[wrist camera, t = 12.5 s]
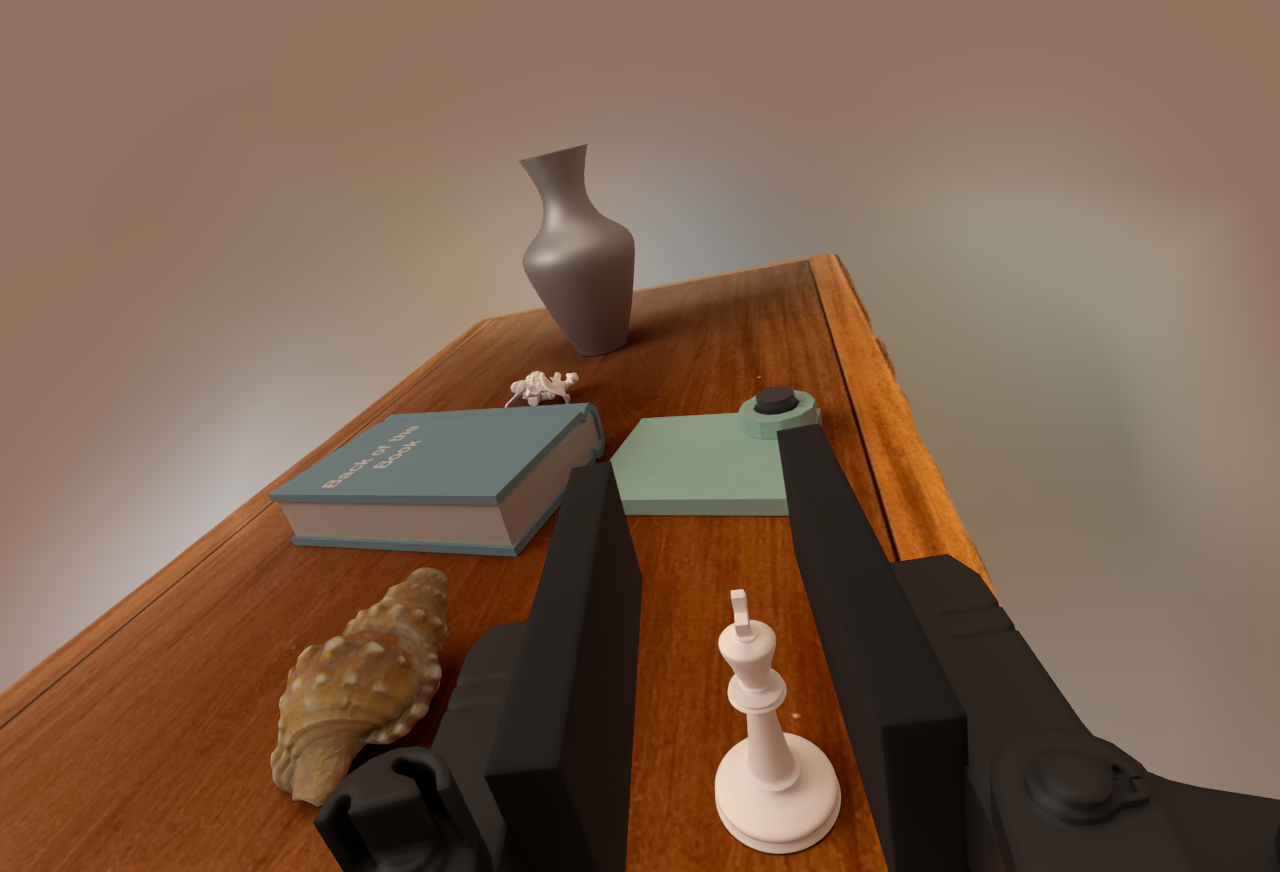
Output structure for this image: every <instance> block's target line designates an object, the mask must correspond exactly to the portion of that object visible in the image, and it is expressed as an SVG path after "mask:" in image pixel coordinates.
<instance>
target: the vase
mask: <svg viewBox="0 0 1280 872" xmlns="http://www.w3.org/2000/svg"><path fill="white" fill-rule="evenodd" d="M586 149H587V144H586V145H582V146H578V147H573V148H568V149H564V150H559V151H553V152H550V153H547V154H543V155H539V156H536V157H532V158H528V159H525V160H521V161H519V162H520V163H521V164H522V166H523V167H524V168H525V170H526V171H527V173H528V174H529V176H530V177H531V179H532V181H533V182H534V184H535V185H536V187H537V189H538V191H539V193H540V195H541V199H542V202H543V212H544V213H543V221H542V225H541V228H540V230H539V233H538V234H537V235H536V237H535V238H534V240H533V241H532V242H531V244H530V246H529V247H528V248H527V250H526V252H525V254H524V258H523V267H524V270H525V272H526V274H527V276H528V278H529V280H530V282H531V283H532V285H533V287H534V289H535V290H536V292H537V293H538V295H539V297H540V298H541V300H542V301H543V303H544V305H545V306H546V308H547V309H548V311H549V313H550V314H551V316H552V317H553V319H554V320H555V322H556V323H557V325H558V326H559V327H560V329H561V330H562V332H563V333H564V334H565V336H566V337H567V338H568V340H569V341H570V342H571V343H572V345H573V346H574V347H575V348H576V350H577V351H578V353H579V354H581V355H582V356H596V355H600V354H604V353H609V352H612V351H614V350H616V349H618V348H621V347H623V345H624V344H625V343H626V342H627V332H628V327H629V321H630V314H631V306H632V294H633V276H634V260H635V259H634V258H635V248H634V240H633V236H632V234H631V233H630V232H629V231H628V229H626V228H625V227H624V226H622V225H620V224H618V223H616V222H614V221H612V220H610V219H608V218H606V217H604V216H603V215H602V214H600V213H599V212H598V211H597V210H596V208H595V207H594V206H593V205H592V203H591V202H590V200H589V198H588V196H587V194H586V190H585V184H584V166H585V156H586Z"/></svg>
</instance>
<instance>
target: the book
mask: <svg viewBox="0 0 1280 872" xmlns="http://www.w3.org/2000/svg"><path fill="white" fill-rule="evenodd" d="M604 447H605V437H604V433H603V429H602V425H601V422H600V418H599V414H598V410H597V407H595V406H594V405H592V404H591V403H577V404H561V405H544V406H527V407H511V408H494V409H478V410H461V411H445V412H428V413H412V414H395V415H390V416H388V417H387V418H385V421H384V422H380V423H378V424H376V425H375V426H373V427H371V428H370V429H368V430H367V431H365V432H364V433H362V434H361V435H359V436H358V437H356V438H354V439H353V440H351V441H350V442H348V443H347V444H345V445H344V446H342V447H341V448H339V449H338V450H336V451H334V452H333V453H331V454H330V455H328V456H327V457H325V458H324V459H322V460H321V461H319V462H318V463H316V464H314V465H313V466H311V467H310V468H308V469H307V470H305V471H304V472H302V473H301V474H299V475H298V476H296V477H294V478H293V479H291V480H290V481H288V482H287V483H285V484H284V485H282V486H281V487H279V488H278V489H276V490H274V491H273V492H271V493H270V494H268V495H269V497H270V499H271V501H272V502H279V503H280V505H281V507H282V509H283V511H284V513H285V515H286V517H287V519H288V521H289V523H290V525H291V527H292V529H293V531H294V533H295V535H294V536H293V537H292V538H291V540H292V542H293V544H294V545H302V546H321V547H340V548H359V549H378V550H398V551H417V552H436V553H455V554H474V555H494V556H513V557H517V556H518V554H519V553H520V552H521V551H522V550H523V549H524V547H525V546H526V545H527V544H528V543H529V541H530V540H531V539H532V538H533V537H534V536H535V534H536V533H537V532H538V531H539V530H540V528H541V527H542V526H543V525H544V524H545V523H546V521H547V520H548V519H549V518H550V517H551V515H552V514H553V513H554V512H555V511H556V510H557V508H558V507H559V506H560V505H561V504H562V500H563V497H564V493H565V490H566V486H567V483H568V479H569V476H570V472H571V469H572V468H575V467H581V466H586V465H592V464H595V462H596V459H600V458H601V456H602V455H603V454H604Z"/></svg>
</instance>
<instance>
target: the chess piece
mask: <svg viewBox="0 0 1280 872" xmlns="http://www.w3.org/2000/svg"><path fill="white" fill-rule="evenodd" d="M731 600H732V605H733V610H734V619H735V623H733V624H731V625H729V626H728V627H727V628H726V629H725V630H724V631H723V632H722V633H721V635H720V637H719V649H720V652H721V654H722V655H723V657H724V658H725V660H726V661H727V662H728V663H729V664H730V666H731V667H732V669H733V671H734V673H735V675H734V676H733V677H732V678H731V680H730V682H729V687H728V698H729V701H730V703H731V704H732V705H733V706H734V707H735V708H736V709H737V710H739V711H741V712H743V713H746V714H747V725H748V738H746V739H744V740H742V741H741V742H739V743H738V744H736V745H735V746H734V747H733V748H732V749H731V750H730V751H729V752H728V753H727V754H726V755H725V757H724V758H723V760H722V761H721V763H720V765H719V768H718V771H717V774H716V779H715V800H716V806H717V810H718V813H719V816H720V818H721V820H722V822H723V824H724V825H725V827H726V828H727V829H728V831H729V832H730V833H731V834H732V835H733V836H734V837H735V838H736V839H738V840H739V841H740V842H742V843H743V844H745V845H747V846H749V847H751V848H753V849H756V850H759V851H762V852H767V853H774V854H785V853H792V852H797V851H800V850H803V849H806V848H808V847H810V846H812V845H814V844H815V843H817V842H818V841H820V840H821V839H822V838H823V837H824V836H825V835H826V834H827V833H828V832H829V831H830V829H831V828H832V827H833V825H834V823H835V821H836V819H837V817H838V814H839V811H840V805H841V791H840V785H839V782H838V779H837V777H836V774H835V771H834V768H833V766H832V764H831V762H830V761H829V759H828V758H827V756H826V755H825V754H824V753H823V752H822V751H821V750H820V749H819V748H818V747H817V746H816V745H814V744H813V743H811V742H810V741H808V740H806V739H804V738H802V737H799V736H797V735H793V734H789V733H784V732H782V729H781V726H780V723H779V721H778V718H777V715H776V711H775V709H776V708H778V707H779V706H780V705H781V704H782V702H783V701H784V699H785V697H786V691H787V690H786V685H785V682H784V681H783V679H782V677H781V676H780V675H779V674H778V673H777V672H776V671H775V670H773V669H771V661H772V657H773V655H774V651H775V646H776V637H775V634H774V632H773V630H772V629H771V628H770V627H769V626H768V625H766V624H765V623H762V622H760V621H756V620H749V615H748V607H747V599H746V594H745V592H744V590H743V589H740V590H732V591H731Z"/></svg>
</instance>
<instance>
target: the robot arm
mask: <svg viewBox="0 0 1280 872" xmlns="http://www.w3.org/2000/svg"><path fill="white" fill-rule="evenodd" d="M776 432H777V438H778V445H779V451H780V458H781V465H782V471H783V478H784V484H785V491H786V498H787V504H788V511H789V518H790V524H791V531H792V537H793V544H794V551H795V556H796V559H797V563H798V566H799V570H800V573H801V576H802V580H803V583H804V587H805V590H806V593H807V597H808V600H809V603H810V607H811V610H812V614H813V617H814V620H815V624H816V627H817V631H818V634H819V637H820V641H821V644H822V647H823V651H824V654H825V658H826V661H827V664H828V668H829V671H830V675H831V678H832V681H833V685H834V688H835V691H836V695H837V698H838V702H839V705H840V708H841V712H842V715H843V719H844V722H845V725H846V729H847V732H848V735H849V739H850V742H851V746H852V749H853V752H854V756H855V759H856V763H857V766H858V769H859V773H860V776H861V779H862V783H863V786H864V790H865V793H866V796H867V800H868V803H869V807H870V810H871V813H872V817H873V820H874V823H875V827H876V830H877V834H878V837H879V840H880V844H881V847H882V851H883V854H884V857H885V861H886V864H887V867H888V871H889V872H1280V800H1277V799H1272V798H1265V797H1259V796H1253V795H1245V794H1240V793H1233V792H1227V791H1220V790H1214V789H1208V788H1201V787H1196V786H1192V785H1188V784H1184V783H1179V782H1175V781H1171V780H1168V779H1165V778H1163V777H1160V776H1158V775H1155V774H1153V773H1150V772H1147V770H1146V769H1145V768H1144V767H1143V765H1142V764H1141V763H1140V762H1138V761H1137V760H1135V759H1134V758H1132V757H1131V756H1130V755H1128V754H1127V753H1125V752H1124V751H1122V750H1121V749H1120V748H1118V747H1117V746H1116V745H1114V744H1113V743H1110V742H1108V741H1106V740H1103V739H1101V738H1098V737H1095V736H1093V735H1092V733H1091V732H1090V731H1089V730H1088V729H1087V728H1086V727H1085V725H1084V724H1083V723H1082V722H1081V720H1080V719H1079V717H1078V716H1077V715H1076V713H1075V712H1074V710H1073V709H1072V707H1071V706H1070V704H1069V703H1068V702H1067V700H1066V699H1065V697H1064V696H1063V694H1062V693H1061V691H1060V690H1059V689H1058V687H1057V686H1056V684H1055V683H1054V681H1053V680H1052V679H1051V677H1050V676H1049V674H1048V673H1047V671H1046V670H1045V668H1044V667H1043V666H1042V664H1041V663H1040V661H1039V660H1038V659H1037V657H1036V656H1035V654H1034V653H1033V651H1032V650H1031V648H1030V647H1029V645H1028V644H1027V642H1026V641H1025V640H1024V638H1023V637H1022V635H1021V634H1020V633H1019V631H1016V630H1015V627H1014V624H1013V622H1012V621H1011V619H1010V618H1009V617H1008V615H1007V614H1006V612H1005V611H1004V609H1003V608H1002V607H999V604H998V601H997V599H996V598H995V596H994V595H993V594H992V592H991V591H990V589H989V588H988V586H987V585H986V583H985V582H984V581H983V579H982V578H981V576H980V575H979V574H978V573H976V572H975V571H973V570H972V569H970V568H969V567H967V566H966V565H964V564H963V563H961V562H959V561H958V560H956V559H955V558H953V557H952V556H950V555H949V554H944V555H938V556H931V557H925V558H918V559H912V560H905V561H899V562H892V563H889V561H888V559H887V557H886V555H885V553H884V551H883V549H882V547H881V545H880V543H879V541H878V539H877V537H876V535H875V533H874V531H873V529H872V527H871V525H870V523H869V521H868V519H867V517H866V515H865V513H864V511H863V509H862V507H861V505H860V504H859V502H858V500H857V498H856V496H855V494H854V492H853V490H852V488H851V486H850V484H849V482H848V480H847V478H846V476H845V474H844V472H843V470H842V468H841V466H840V464H839V462H838V460H837V458H836V456H835V454H834V452H833V450H832V448H831V446H830V444H829V442H828V440H827V438H826V436H825V434H824V432H823V431H822V429H821V427H820V425H819V423H817V424H812V425H806V426H801V427H795V428H790V429H784V430H779V431H776ZM641 595H642V576H641V572H640V568H639V564H638V561H637V557H636V553H635V549H634V546H633V542H632V538H631V534H630V531H629V527H628V523H627V519H626V516H625V512H624V508H623V504H622V501H621V497H620V493H619V490H618V486H617V482H616V478H615V475H614V471H613V467H612V463H611V461H608V462H603V463H597V464H592V465H586V466H581V467H575V468H572V469H571V472H570V476H569V479H568V483H567V486H566V490H565V493H564V497H563V500H562V504H561V507H560V511H559V514H558V518H557V521H556V525H555V528H554V532H553V535H552V539H551V542H550V546H549V550H548V553H547V557H546V560H545V564H544V567H543V571H542V574H541V578H540V581H539V585H538V588H537V592H536V595H535V599H534V602H533V606H532V609H531V613H530V616H529V620H528V621H524V622H517V623H511V624H504V625H498V626H491V627H489V628H488V629H487V631H486V632H485V633H484V634H483V635H482V637H481V638H480V639H479V640H478V641H477V642H476V644H475V645H474V646H473V647H472V648H471V650H470V651H469V652H468V653H467V656H466V658H465V661H464V663H463V666H462V669H461V671H460V674H459V677H458V679H457V687H455V688H454V690H453V692H452V695H451V697H450V700H449V703H448V705H447V707H448V711H447V712H445V713H444V716H443V718H442V721H441V724H440V726H439V729H438V731H437V734H436V737H435V739H434V742H433V744H432V747H431V750H430V749H427V748H424V747H421V746H415V747H405V748H396V749H394V750H391V751H389V752H386V753H384V754H382V755H379V756H377V757H374V758H372V759H370V760H369V761H367V762H366V763H365V764H363V765H362V766H360V767H359V768H357V769H356V770H355V771H353V772H352V773H350V774H349V775H347V776H346V778H345V779H344V780H343V781H342V782H341V783H340V784H339V785H338V786H337V787H336V788H335V789H334V791H333V792H332V793H331V794H330V795H329V796H328V797H327V798H326V800H325V802H324V804H323V806H322V807H321V809H320V811H319V813H318V815H317V817H316V818H315V820H314V822H313V823H314V825H315V827H316V828H317V830H318V831H319V833H320V835H321V836H322V838H323V839H324V841H325V843H326V844H327V846H328V847H329V849H330V851H331V852H332V854H333V855H334V857H335V859H336V860H337V862H338V863H339V865H340V867H341V868H342V870H343V871H344V872H625V870H626V853H627V836H628V818H629V801H630V784H631V767H632V750H633V733H634V715H635V698H636V681H637V664H638V647H639V630H640V612H641Z"/></svg>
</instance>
